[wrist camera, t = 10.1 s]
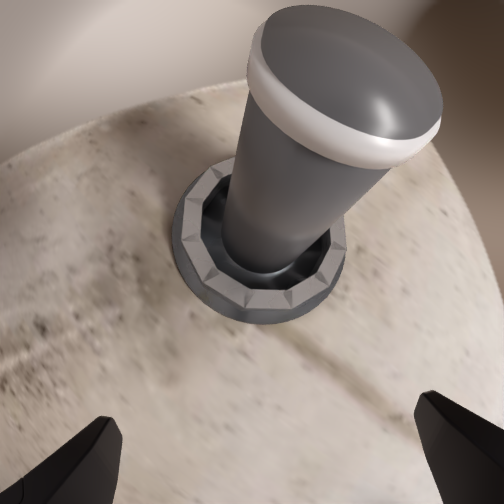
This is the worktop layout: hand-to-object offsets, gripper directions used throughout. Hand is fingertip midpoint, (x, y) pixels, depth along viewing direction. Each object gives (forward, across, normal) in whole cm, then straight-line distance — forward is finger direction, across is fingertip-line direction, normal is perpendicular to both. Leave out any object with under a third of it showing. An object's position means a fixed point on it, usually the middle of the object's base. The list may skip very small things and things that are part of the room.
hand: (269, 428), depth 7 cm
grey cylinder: (+13, -1, -2) cm, 13 cm away
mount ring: (+13, -1, -2) cm, 13 cm away
